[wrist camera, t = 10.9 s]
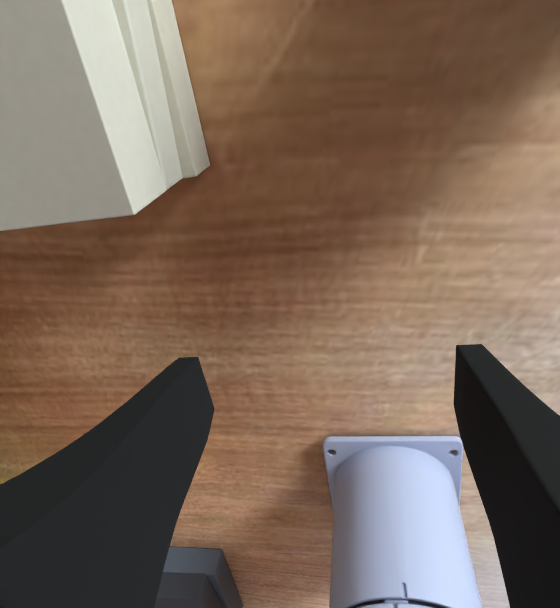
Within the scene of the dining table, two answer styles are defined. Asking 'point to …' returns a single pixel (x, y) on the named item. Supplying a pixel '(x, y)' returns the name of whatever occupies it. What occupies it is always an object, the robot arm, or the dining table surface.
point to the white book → (70, 117)
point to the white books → (163, 86)
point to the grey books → (197, 580)
